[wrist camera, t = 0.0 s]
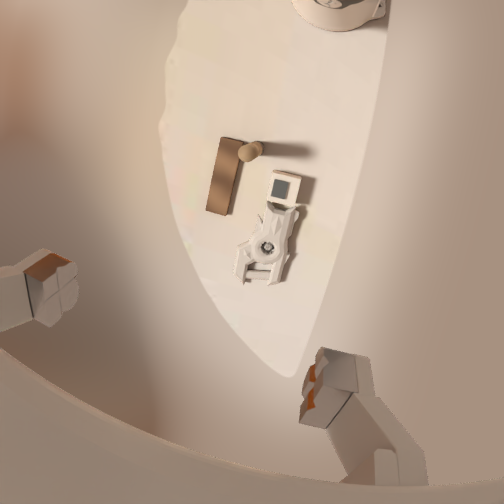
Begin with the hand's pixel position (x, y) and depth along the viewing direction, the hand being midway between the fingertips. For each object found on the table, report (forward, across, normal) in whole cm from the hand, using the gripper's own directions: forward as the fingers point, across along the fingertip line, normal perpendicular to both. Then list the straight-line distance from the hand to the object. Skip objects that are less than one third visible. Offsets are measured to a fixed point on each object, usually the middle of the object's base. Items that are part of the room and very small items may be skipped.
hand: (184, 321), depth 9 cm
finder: (+48, 0, +6) cm, 49 cm away
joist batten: (+48, +10, +7) cm, 50 cm away
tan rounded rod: (+48, +6, +1) cm, 48 cm away
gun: (+49, 0, +18) cm, 52 cm away
